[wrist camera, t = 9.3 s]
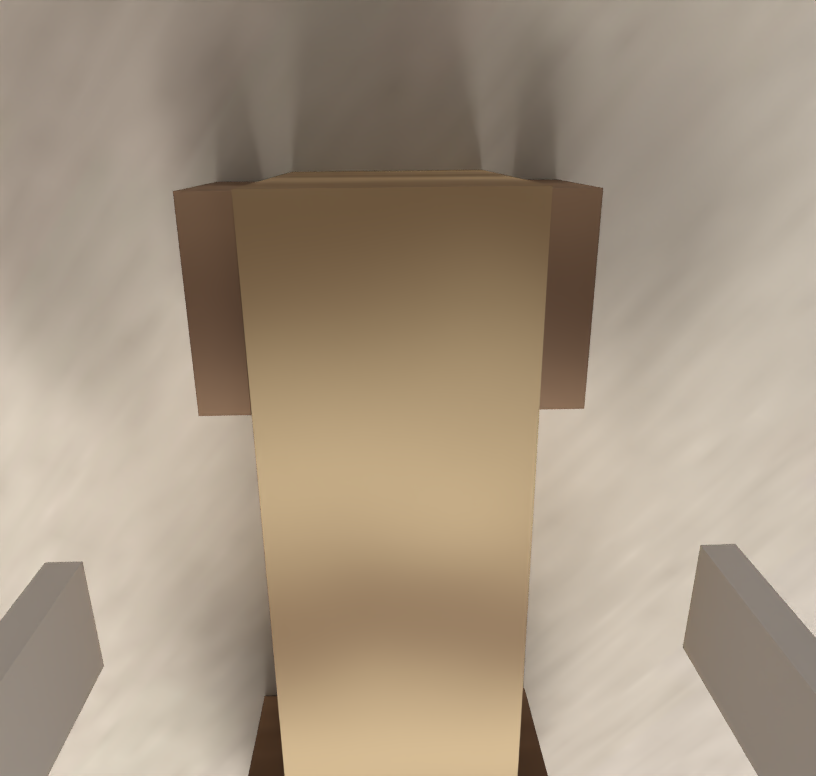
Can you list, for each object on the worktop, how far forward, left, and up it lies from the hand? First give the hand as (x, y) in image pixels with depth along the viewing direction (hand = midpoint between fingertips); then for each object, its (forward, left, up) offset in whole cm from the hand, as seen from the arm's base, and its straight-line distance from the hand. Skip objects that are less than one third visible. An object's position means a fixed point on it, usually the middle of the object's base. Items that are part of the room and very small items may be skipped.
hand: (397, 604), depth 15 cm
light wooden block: (-1, 0, -7) cm, 7 cm away
